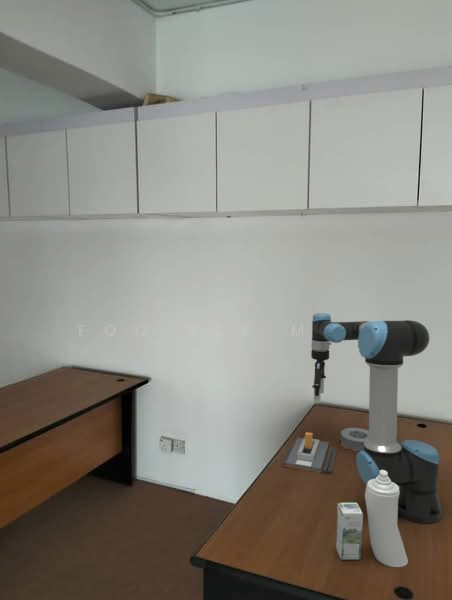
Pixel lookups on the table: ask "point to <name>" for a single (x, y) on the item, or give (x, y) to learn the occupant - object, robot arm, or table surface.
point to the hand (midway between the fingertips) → (318, 397)
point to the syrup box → (349, 531)
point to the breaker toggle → (308, 442)
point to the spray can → (384, 520)
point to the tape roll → (354, 438)
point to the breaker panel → (317, 459)
